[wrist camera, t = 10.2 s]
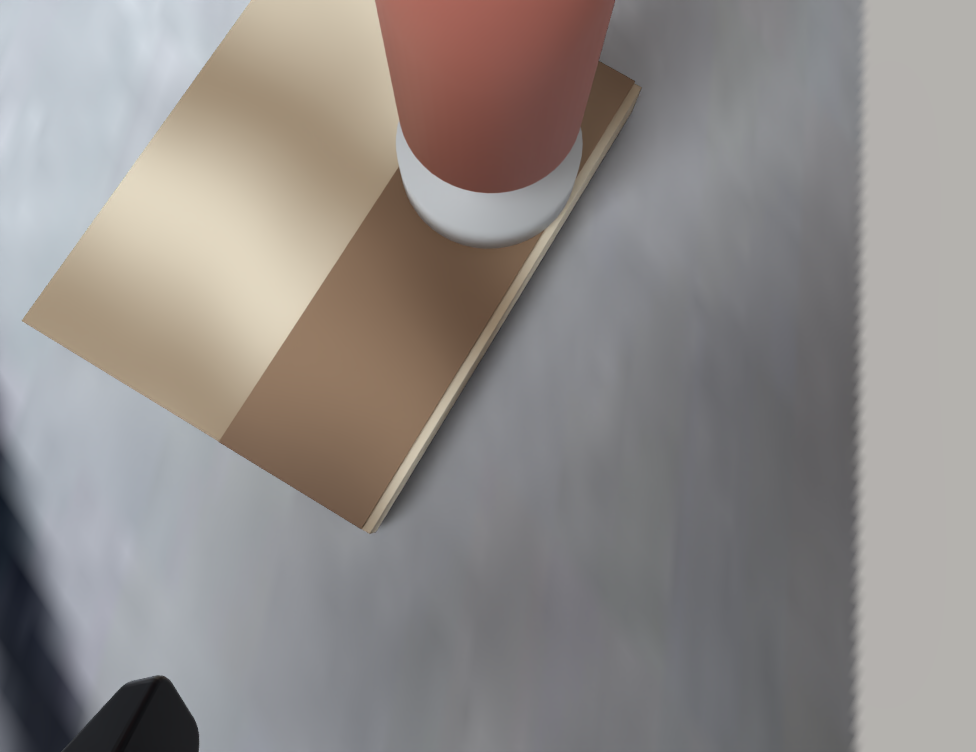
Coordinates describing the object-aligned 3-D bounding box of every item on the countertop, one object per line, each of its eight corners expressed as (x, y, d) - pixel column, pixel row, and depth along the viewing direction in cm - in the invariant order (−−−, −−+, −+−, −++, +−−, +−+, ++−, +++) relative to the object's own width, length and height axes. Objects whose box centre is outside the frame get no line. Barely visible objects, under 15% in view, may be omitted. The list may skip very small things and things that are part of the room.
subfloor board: (375, 532, 19) (368, 534, 17) (49, 332, 19) (19, 319, 18) (631, 112, 20) (642, 85, 19) (326, -59, 21) (317, -96, 20)
